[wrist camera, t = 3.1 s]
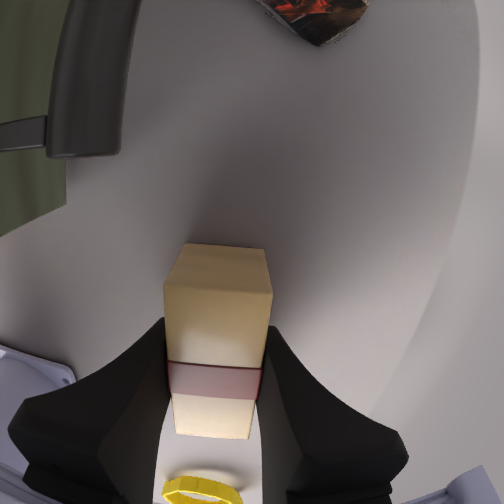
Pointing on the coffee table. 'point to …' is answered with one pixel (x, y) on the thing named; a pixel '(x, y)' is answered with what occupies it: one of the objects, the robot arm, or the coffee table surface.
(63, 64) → the pullout
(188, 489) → the yellow rubber band ring
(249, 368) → the tan red striped block
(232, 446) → the coffee table surface
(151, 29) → the coffee table surface
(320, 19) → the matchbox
